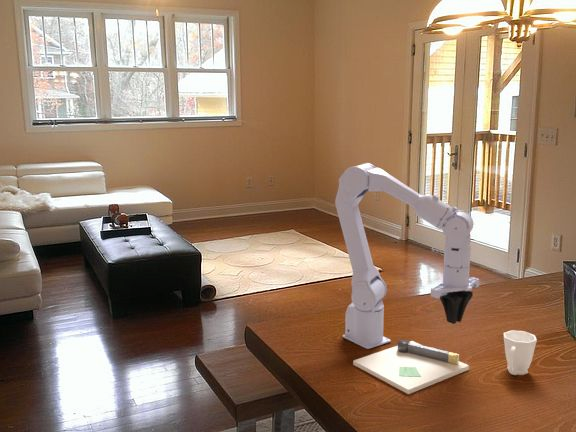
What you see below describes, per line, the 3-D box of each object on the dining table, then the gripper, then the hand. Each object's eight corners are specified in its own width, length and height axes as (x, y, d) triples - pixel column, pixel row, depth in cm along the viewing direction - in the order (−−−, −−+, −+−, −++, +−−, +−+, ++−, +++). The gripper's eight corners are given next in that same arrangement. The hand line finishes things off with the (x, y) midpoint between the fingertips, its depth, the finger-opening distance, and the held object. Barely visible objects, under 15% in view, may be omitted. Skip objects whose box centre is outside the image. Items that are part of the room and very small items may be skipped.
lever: (395, 350, 136) (395, 342, 136) (400, 346, 138) (400, 338, 138) (455, 365, 128) (456, 357, 128) (460, 361, 130) (460, 353, 130)
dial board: (353, 364, 132) (353, 360, 132) (411, 344, 142) (412, 340, 142) (408, 394, 118) (408, 389, 118) (468, 369, 129) (468, 365, 129)
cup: (538, 368, 129) (540, 334, 127) (526, 386, 121) (528, 349, 120) (505, 360, 133) (508, 327, 132) (492, 377, 125) (494, 342, 124)
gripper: (449, 274, 125) (446, 334, 127) (491, 263, 133) (488, 319, 135) (424, 267, 130) (422, 324, 133) (466, 257, 138) (463, 311, 141)
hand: (454, 321), depth 134 cm, fingers closed
